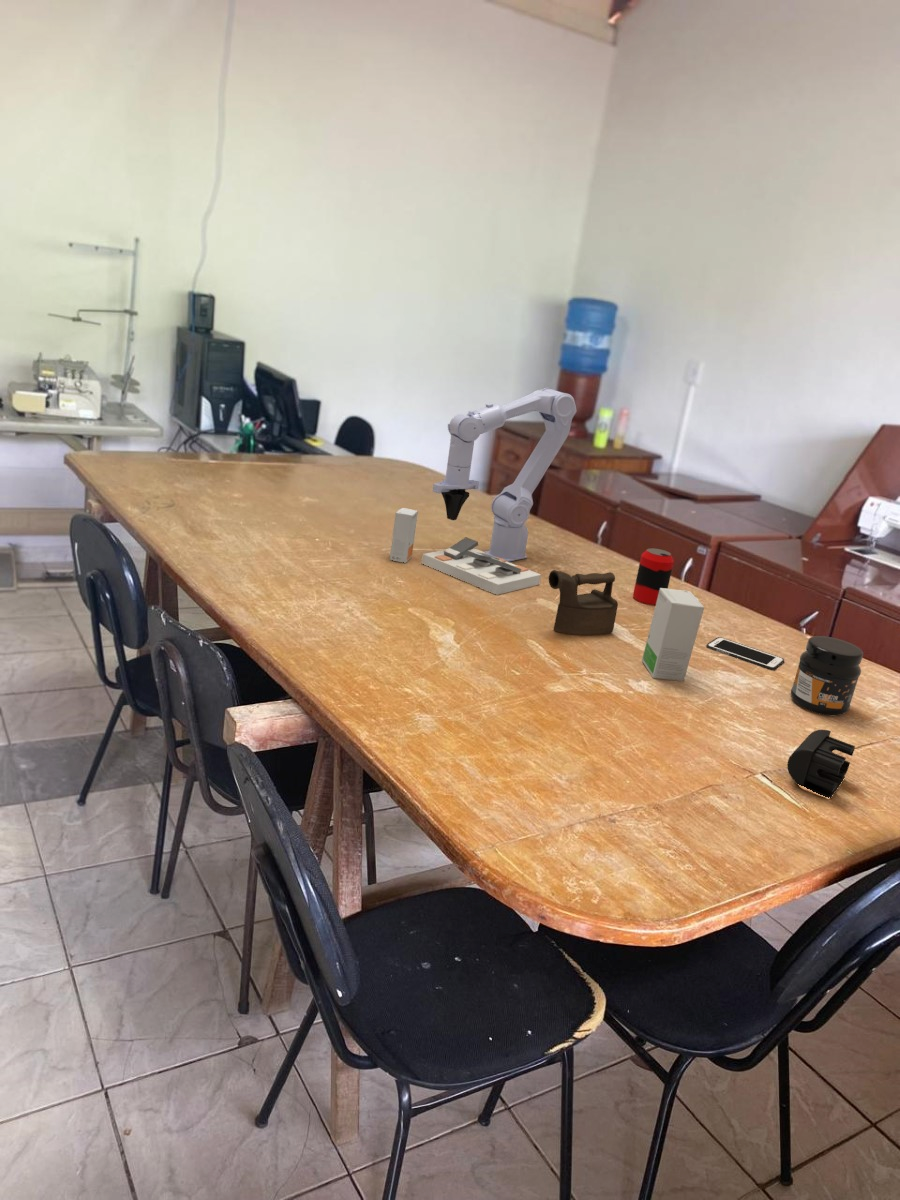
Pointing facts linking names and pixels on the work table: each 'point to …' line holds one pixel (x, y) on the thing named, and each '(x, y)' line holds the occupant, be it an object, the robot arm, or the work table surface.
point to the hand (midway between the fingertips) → (451, 519)
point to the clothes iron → (584, 604)
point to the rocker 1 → (460, 548)
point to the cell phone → (745, 653)
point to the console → (482, 572)
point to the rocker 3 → (504, 565)
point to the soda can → (652, 575)
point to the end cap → (820, 763)
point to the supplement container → (827, 675)
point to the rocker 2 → (479, 555)
